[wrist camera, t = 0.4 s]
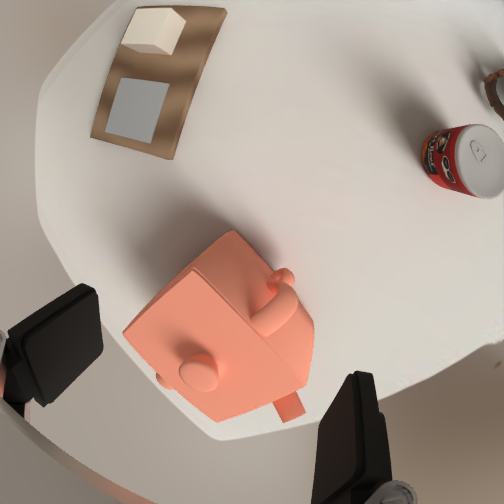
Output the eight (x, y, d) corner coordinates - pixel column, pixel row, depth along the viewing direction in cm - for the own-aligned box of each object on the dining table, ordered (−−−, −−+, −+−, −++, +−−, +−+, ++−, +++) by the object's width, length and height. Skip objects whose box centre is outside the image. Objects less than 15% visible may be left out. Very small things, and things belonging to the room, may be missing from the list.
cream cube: (153, 20, 30) (136, 9, 25) (186, 21, 29) (170, 7, 25) (139, 52, 32) (120, 43, 27) (171, 55, 32) (154, 44, 27)
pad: (122, 78, 34) (121, 77, 33) (169, 84, 33) (168, 83, 33) (106, 132, 37) (105, 132, 37) (150, 143, 36) (149, 143, 36)
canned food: (431, 120, 29) (470, 108, 18) (473, 153, 28) (518, 154, 18) (410, 167, 32) (445, 171, 21) (453, 198, 31) (495, 213, 21)
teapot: (363, 333, 40) (379, 423, 23) (255, 392, 48) (230, 470, 31) (256, 204, 38) (209, 240, 21) (157, 294, 46) (91, 354, 29)
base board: (141, 9, 31) (137, 6, 29) (227, 12, 29) (224, 8, 28) (96, 137, 39) (90, 137, 38) (173, 159, 38) (168, 159, 36)
